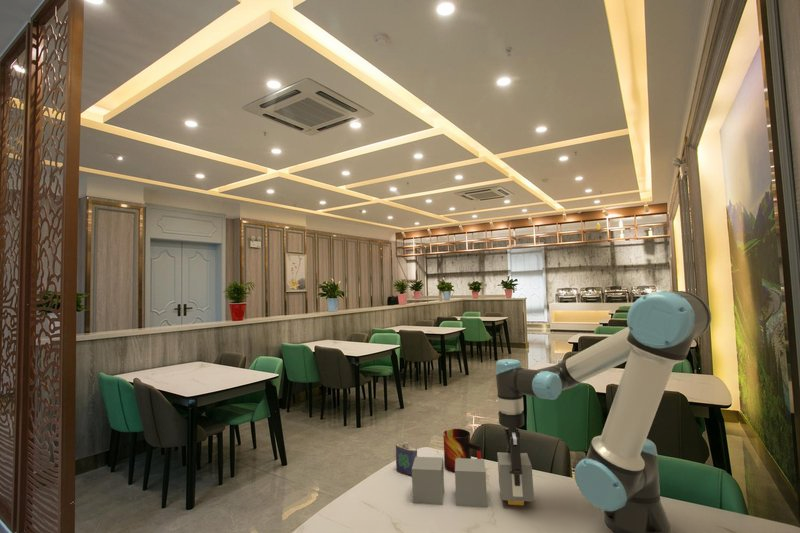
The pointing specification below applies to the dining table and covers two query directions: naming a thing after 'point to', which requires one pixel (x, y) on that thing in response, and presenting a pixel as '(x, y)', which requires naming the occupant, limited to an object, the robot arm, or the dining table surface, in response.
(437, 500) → the large plain grey block
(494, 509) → the dining table surface
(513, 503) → the letter cube
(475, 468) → the pale gray cube
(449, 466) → the mug
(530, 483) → the pale grey cube
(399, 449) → the flask
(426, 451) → the dining table surface
